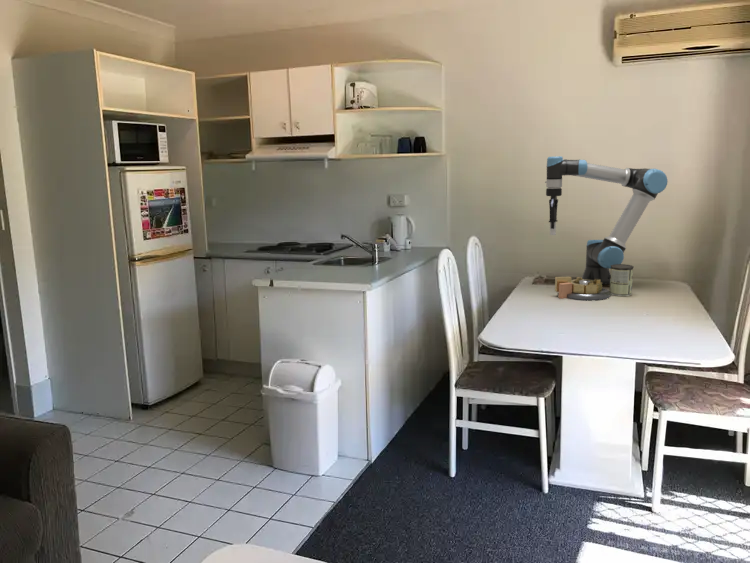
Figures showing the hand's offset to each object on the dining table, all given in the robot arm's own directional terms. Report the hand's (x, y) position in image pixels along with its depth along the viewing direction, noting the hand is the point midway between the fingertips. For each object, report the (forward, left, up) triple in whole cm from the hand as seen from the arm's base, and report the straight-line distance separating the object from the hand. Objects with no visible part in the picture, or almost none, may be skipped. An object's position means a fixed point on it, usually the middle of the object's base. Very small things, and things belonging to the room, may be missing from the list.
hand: (552, 234), depth 315 cm
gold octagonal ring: (-8, +16, -26) cm, 31 cm away
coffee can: (-30, +16, -28) cm, 44 cm away
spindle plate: (-12, +16, -28) cm, 34 cm away
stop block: (-1, +21, -28) cm, 35 cm away
